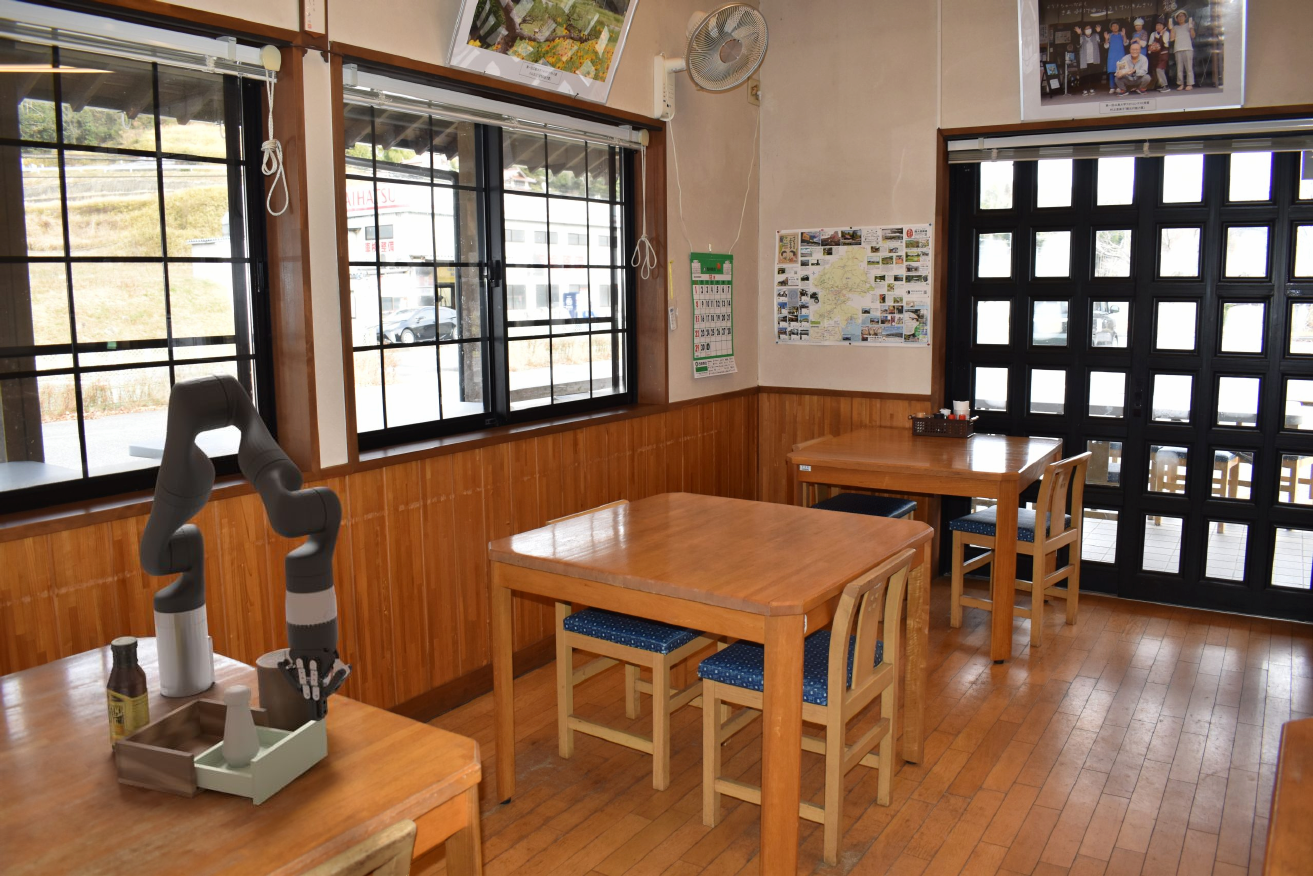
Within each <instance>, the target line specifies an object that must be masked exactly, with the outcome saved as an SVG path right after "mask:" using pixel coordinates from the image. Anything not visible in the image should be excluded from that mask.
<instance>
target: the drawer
mask: <svg viewBox="0 0 1313 876" xmlns="http://www.w3.org/2000/svg"><path fill="white" fill-rule="evenodd" d="M326 717H327V716H325V718H323V719H322V720H320V721H319V722H318V721H312V720H311V721H310V722H308V723H307V724H305V725H304V726H302V727H301V728H299V729H298V730H296V731H294V732H291V731H285V730H280V729H274V728H268V727H263V726H257V725H255V729H256V732H257V736H258V739H259V743H260V747H259V751H258V754H257V756H256V757H255V758H254V759H252V760H250V763H251V765H249V766H246V767H243V768H232V767H230V766H229V764H228V762H227V761H226V760H225V758H224V757H223V756H222V748H223V741H222V742H220V743H218V744H217V745H215V746H213V747H212V748H210V749H209V750H207V751H205V752H204V753H202V754H200V755H199V756H197V757H195V758H194V764H195V777H196V786H197V787H202V788H206V789H208V790H213V791H216V792H217V791H218V792H221V793H228V794H232V795H235V796H242V797H245V798H246V797H247V798H251V799H252V804H253V805H256V806H257V805H258V806H259V805H261V804H262V803H264V802H265V801H266V800H268V799H269V798H270V797H273V795H275V794H276V793H277V792H279V791H280V790H282V788H284V787H285V786H287V785H288V784H289V783H291V782H293V781H294V780H295V779H296V778H298V777H299V776H300V775H302V774H303V773H305V772H306V771H308V770H309V769H310V768H311V767H313V766H314V765H315V764H317V763H319V762H320V761H321V760H323V759H324V758H325V757H327V756H328V738H327V737H328V736H327V722H326V721H327V718H326Z"/></svg>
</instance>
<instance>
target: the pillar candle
mask: <svg viewBox="0 0 1313 876" xmlns="http://www.w3.org/2000/svg"><path fill="white" fill-rule="evenodd" d="M289 650H290V647H289V648H282V649H278V650H275V651H270V652H267V653H264V654H263V655H261V656H259V657H258V658H257V660H256V661H255V663H256V672H257V673H256V674H257V686H258V687H257V689H258V700H259V701H258V705H259V707H258V708H263V709H267V711H268V727H269V728H274V729H280V730H285V731H291V732H294V731H296V730H298V729H299V728H301V727H302V726H304V725H305V724H307V723H308V722H310V721H311V720H310V717H309V716H308V714H307V700H306V698H305V697H304V694H302V693H299V694H297V693H296V692H295V691H294V690H293V688H292V687H291V685H290V684H289V682H288V681H287V679H286V678H285V676H284V675H283V673H282V672H281V671H280V669H279V668H278V666H277V663H278V662H279V661H281V660H283V659H285V658H286V657H288V656H289ZM296 680H297V681H298V683H299V684H300V682H299V680H298V679H297V678H296Z"/></svg>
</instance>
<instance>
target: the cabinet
mask: <svg viewBox="0 0 1313 876" xmlns="http://www.w3.org/2000/svg"><path fill="white" fill-rule="evenodd" d="M227 706H228V705H225V704H224V702H223V700H222V701H220V700H215V699H210V698H209V699H208V698H204V697H196V698H194V699H192V700H191V701H189V702H187V703H185V704H183V705H181V706H179V707H178V708H175V709H174V710H172V711H170V712H168V713H166V714H165V715H163V716H161V717H158V719H156V720H154V721H150V723H149V724H148V725H146V726H144V727H142V728H140V729H138V730H136V731H135V732H133V733H131V734H129V735H127V736H125V737H123V738H121V739H120V740H118V741H116V742H114V743H115V752H114V753H115V763H116V774H117V775H116V776H117V783H118V782H119V784H123V783H124V784H125V785H128V784H131V785H130V786H133V785H135V786H134V787H138V786H139V787H138V788H142V787H144V788H143V789H148V790H152V791H157V792H161V793H166V792H167V794H171V793H173V794H172V795H176V794H177V795H176V796H180V795H181V797H186V798H190V799H193V798H194V797H196V796H197V795H199V794H201V793H202V792H204V791H205V790H206V789H207V788H202V787H197V786H196V777H195V764H194V758H195V757H197V756H199V755H200V754H202V753H204V752H205V751H207V750H209V749H210V748H212V747H213V746H215V745H217V744H218V743H220V742H222V741H223V740H224V732H225V723H226V714H227ZM249 707H250V711H251V714H252V718H253V721H254V725H257V726H263V727H268V711H267V709H263V708H260V707H256V706H251V705H249ZM268 728H269V727H268ZM124 784H123V785H124Z"/></svg>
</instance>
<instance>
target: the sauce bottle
mask: <svg viewBox="0 0 1313 876" xmlns="http://www.w3.org/2000/svg"><path fill="white" fill-rule="evenodd" d="M138 646H139V644H138V638H137V637H135V636H122V637H117V638H115V639H113V640H112V641H111V643H110V650H111V652H112V667H111V670H110V673H109V677H108V681H107V684H106V688H105V689H106V701H107V713H108V715H107V716H108V728H109V741H110V743H111V744H110V745H111V750H112V751H113V752H114V753H115V743H114V742H116V741H118V740H120V739H121V738H123V737H125V736H127V735H129V734H131V733H133V732H135V731H136V730H138V729H140V728H142V727H144V726H146V725H148V724H149V723H151V721H150V706H149V705H150V704H149V691H148V685H147V675H146V673H145V670H144V669H143V668H142V666H140V664H139V658H138Z"/></svg>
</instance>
